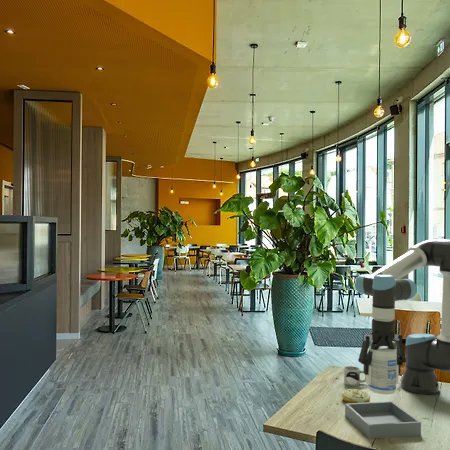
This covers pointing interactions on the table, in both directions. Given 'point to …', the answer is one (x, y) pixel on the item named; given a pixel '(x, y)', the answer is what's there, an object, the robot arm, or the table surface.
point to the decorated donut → (355, 396)
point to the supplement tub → (383, 370)
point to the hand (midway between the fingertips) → (381, 383)
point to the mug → (352, 376)
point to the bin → (382, 419)
